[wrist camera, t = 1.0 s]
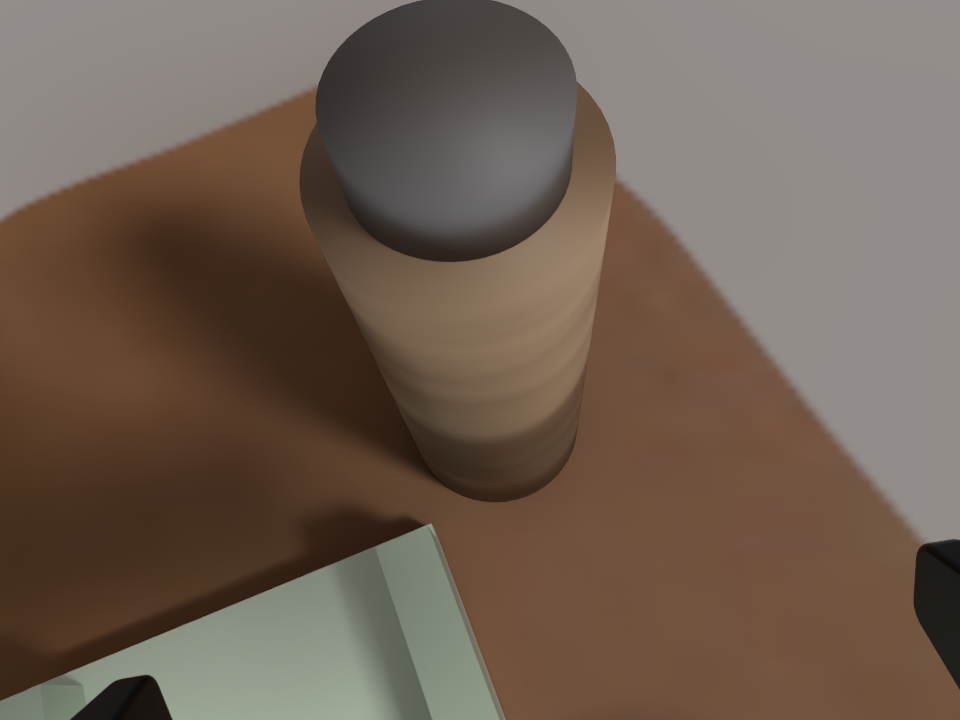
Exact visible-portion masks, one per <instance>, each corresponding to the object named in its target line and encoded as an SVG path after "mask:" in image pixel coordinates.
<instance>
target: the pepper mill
mask: <svg viewBox="0 0 960 720" xmlns="http://www.w3.org/2000/svg"><path fill="white" fill-rule="evenodd" d="M316 118H317V123H316V125H315V127H314V128H313V130H312V132H311V134H310V136H309V139H308V142H307V144H306V147H305V150H304V153H303V158H302V163H301V167H300V193H301V202H302V205H303V209H304V213H305V216H306V219H307V221H308V223H309V225H310V228H311V230H312V232H313V234H314V236H315V238H316V240H317V242H318V244H319V246H320V249H321V251H322V253H323V255H324V257H325V259H326V261H327V263H328V265H329V267H330V269H331V271H332V273H333V275H334V277H335V279H336V281H337V283H338V286H339V288H340V290H341V292H342V294H343V296H344V298H345V300H346V302H347V304H348V306H349V308H350V310H351V312H352V314H353V316H354V318H355V320H356V322H357V325H358V327H359V329H360V331H361V333H362V335H363V337H364V339H365V341H366V343H367V345H368V347H369V349H370V351H371V353H372V355H373V357H374V359H375V361H376V364H377V366H378V368H379V370H380V372H381V374H382V376H383V378H384V380H385V382H386V384H387V386H388V388H389V390H390V392H391V394H392V396H393V398H394V400H395V403H396V405H397V407H398V409H399V411H400V413H401V415H402V417H403V419H404V421H405V423H406V425H407V427H408V429H409V431H410V433H411V435H412V437H413V440H414V442H415V444H416V446H417V448H418V450H419V452H420V454H421V456H422V458H423V460H424V462H425V464H426V465H427V467H428V468H429V470H430V471H431V472H432V473H433V475H434V476H435V477H436V478H437V479H438V480H439V481H440V482H441V483H443V484H444V485H445V486H446V487H448V488H449V489H451V490H452V491H454V492H456V493H458V494H460V495H462V496H465V497H468V498H471V499H474V500H479V501H484V502H506V501H511V500H516V499H520V498H523V497H526V496H528V495H530V494H532V493H534V492H536V491H538V490H540V489H541V488H543V487H544V486H546V485H547V484H548V483H549V482H550V481H552V480H553V479H554V478H555V477H556V476H557V475H558V473H559V472H560V471H561V470H562V468H563V467H564V465H565V464H566V462H567V461H568V459H569V457H570V455H571V453H572V450H573V447H574V444H575V440H576V434H577V427H578V421H579V414H580V408H581V401H582V394H583V388H584V381H585V374H586V368H587V361H588V355H589V348H590V341H591V335H592V328H593V321H594V315H595V308H596V301H597V295H598V288H599V282H600V275H601V268H602V262H603V255H604V248H605V242H606V235H607V229H608V222H609V215H610V209H611V202H612V195H613V189H614V182H615V176H616V155H615V148H614V142H613V138H612V135H611V132H610V129H609V126H608V124H607V121H606V119H605V117H604V115H603V113H602V111H601V109H600V108H599V107H598V105H597V104H596V102H595V101H594V100H593V99H592V97H591V96H590V95H589V93H588V92H587V91H586V90H585V89H584V88H583V87H582V86H581V85H580V84H579V83H578V82H577V81H576V75H575V71H574V67H573V64H572V61H571V59H570V57H569V55H568V53H567V51H566V49H565V48H564V46H563V45H562V43H561V42H560V41H559V39H558V38H557V37H556V36H555V35H554V34H553V33H552V32H551V31H550V30H549V29H548V28H547V27H546V26H545V25H543V24H542V23H541V22H540V21H538V20H537V19H535V18H534V17H532V16H530V15H529V14H527V13H525V12H523V11H521V10H519V9H517V8H514V7H512V6H509V5H506V4H503V3H500V2H497V1H492V0H422V1H417V2H413V3H410V4H406V5H403V6H400V7H398V8H395V9H393V10H390V11H388V12H386V13H384V14H382V15H380V16H378V17H376V18H374V19H373V20H371V21H369V22H368V23H366V24H365V25H363V26H362V27H360V28H359V29H358V30H357V31H356V32H354V33H353V34H352V35H351V36H349V38H347V39H346V41H345V42H344V43H343V44H342V45H341V46H340V47H339V48H338V49H337V51H336V52H335V53H334V55H333V56H332V57H331V59H330V61H329V62H328V64H327V66H326V68H325V70H324V72H323V74H322V77H321V79H320V82H319V85H318V90H317V95H316Z"/></svg>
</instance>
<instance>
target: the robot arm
mask: <svg viewBox="0 0 960 720" xmlns="http://www.w3.org/2000/svg"><path fill="white" fill-rule="evenodd" d="M914 608H915V612H916V615H917V618H918V620H919V622H920V624H921V626H922V628H923V629H924V631H925V633H926V634H927V636H928V638H929V639H930V641H931V643H932V644H933V646H934V648H935V649H936V651H937V653H938V654H939V656H940V658H941V659H942V661H943V663H944V664H945V666H946V668H947V669H948V671H949V673H950V674H951V676H952V678H953V679H954V681H955V683H956V684H957V686H958V688H959V689H960V540H956V539H951V540H945V541H938V542H932V543H927V544H924V545H922V546H921V547H920V548H919V550H918V552H917V556H916V569H915V585H914ZM70 720H173V719H172V717H171V714H170V712H169V709H168V707H167V704H166V702H165V699H164V697H163V694H162V692H161V689H160V687H159V685H158V683H157V681H156V679H155V678H154V677H152V676H150V675H140V676H135V677H129V678H123V679H119V680H116V681H114V682H112V683H111V684H110V685H109V686H107V687H106V688H105V689H104V690H103V691H102V692H101V693H100V694H98V695H97V696H96V697H95V698H94V699H93V700H92V701H90V702H89V703H88V704H87V705H86V706H85V707H84V708H83V709H81V710H80V711H79V712H78V713H77V714H76V715H75V716H73V717H72V718H71V719H70Z"/></svg>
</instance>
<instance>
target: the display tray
mask: <svg viewBox="0 0 960 720" xmlns="http://www.w3.org/2000/svg"><path fill="white" fill-rule="evenodd" d="M140 675H150V676H152V677H154V678H155V679H156V681H157V683H158V685H159V687H160V689H161V692H162V694H163V697H164V699H165V702H166V704H167V707H168V709H169V712H170V714H171V717H172V719H173V720H506V719H505V717H504V714H503V711H502V708H501V706H500V703H499V700H498V698H497V695H496V692H495V690H494V687H493V684H492V682H491V679H490V676H489V673H488V671H487V668H486V665H485V663H484V660H483V657H482V655H481V652H480V649H479V647H478V644H477V641H476V638H475V636H474V633H473V630H472V628H471V625H470V622H469V620H468V617H467V614H466V611H465V609H464V606H463V603H462V601H461V598H460V595H459V593H458V590H457V587H456V585H455V582H454V579H453V576H452V574H451V571H450V568H449V566H448V563H447V560H446V558H445V555H444V552H443V550H442V547H441V544H440V541H439V539H438V536H437V533H436V531H435V529H434V527H433V526H432V524H428V525H426V526H423V527H421V528H419V529H416V530H414V531H411V532H409V533H406V534H404V535H402V536H399V537H397V538H394V539H392V540H389V541H387V542H385V543H382V544H380V545H377V546H375V547H372V548H370V549H367V550H365V551H363V552H360V553H358V554H355V555H353V556H350V557H348V558H346V559H343V560H341V561H338V562H336V563H333V564H331V565H329V566H326V567H324V568H321V569H319V570H316V571H314V572H311V573H309V574H307V575H304V576H302V577H299V578H297V579H294V580H292V581H290V582H287V583H285V584H282V585H280V586H277V587H275V588H273V589H270V590H268V591H265V592H263V593H260V594H258V595H255V596H253V597H251V598H248V599H246V600H243V601H241V602H238V603H236V604H234V605H231V606H229V607H226V608H224V609H221V610H219V611H217V612H214V613H212V614H209V615H207V616H204V617H202V618H200V619H197V620H195V621H192V622H190V623H187V624H185V625H182V626H180V627H178V628H175V629H173V630H170V631H168V632H165V633H163V634H161V635H158V636H156V637H153V638H151V639H148V640H146V641H144V642H141V643H139V644H136V645H134V646H131V647H129V648H126V649H124V650H122V651H119V652H117V653H114V654H112V655H109V656H107V657H105V658H102V659H100V660H97V661H95V662H92V663H90V664H88V665H85V666H83V667H80V668H78V669H75V670H73V671H71V672H68V673H66V674H63V675H61V676H58V677H56V678H53V679H51V680H49V681H46V682H44V683H41V684H39V685H36V686H34V687H32V688H29V689H28V690H26V691H23V692H21V693H18V694H16V695H13V696H11V697H9V698H6V699H4V700H1V701H0V720H70V719H71V718H72V717H73V716H75V715H76V714H77V713H78V712H79V711H80V710H81V709H83V708H84V707H85V706H86V705H87V704H88V703H89V702H90V701H92V700H93V699H94V698H95V697H96V696H97V695H98V694H100V693H101V692H102V691H103V690H104V689H105V688H106V687H107V686H109V685H110V684H111V683H112V682H114V681H116V680H119V679H123V678H129V677H135V676H140Z"/></svg>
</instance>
